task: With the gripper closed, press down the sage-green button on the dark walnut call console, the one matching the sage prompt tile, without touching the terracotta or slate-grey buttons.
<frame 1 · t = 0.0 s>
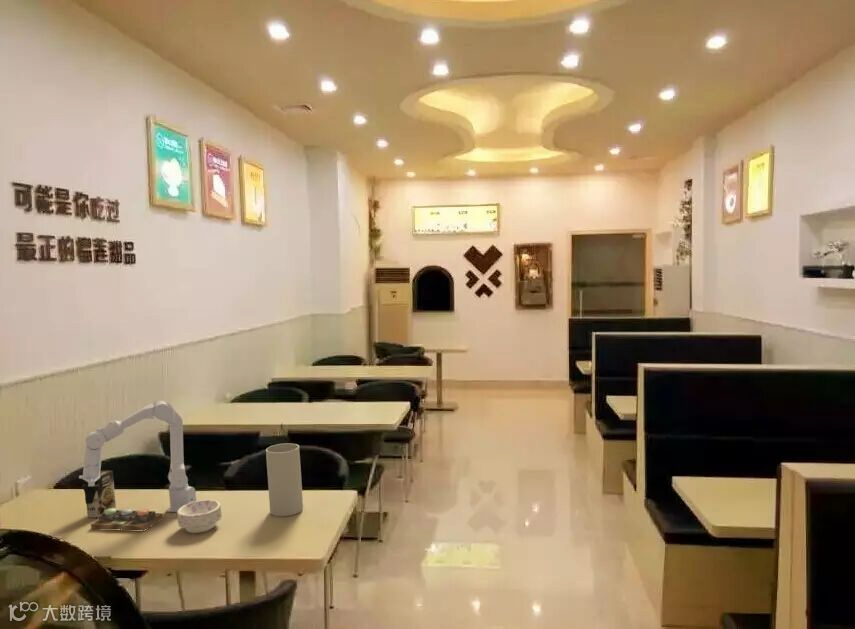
hand: (88, 500, 243), 11 cm above the table, tool pointing down, fingers open, 7 cm apart
cylinder vase: (286, 511, 251), on the table
terracotta button: (143, 513, 244), point 4 cm above the table, slide at 0.0 cm
console: (127, 523, 246), on the table
coffee box: (102, 513, 258), on the table
paper bowls: (200, 528, 239), on the table
sage button: (110, 512, 247), point 4 cm above the table, slide at 0.0 cm
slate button: (126, 512, 246), point 4 cm above the table, slide at 0.0 cm
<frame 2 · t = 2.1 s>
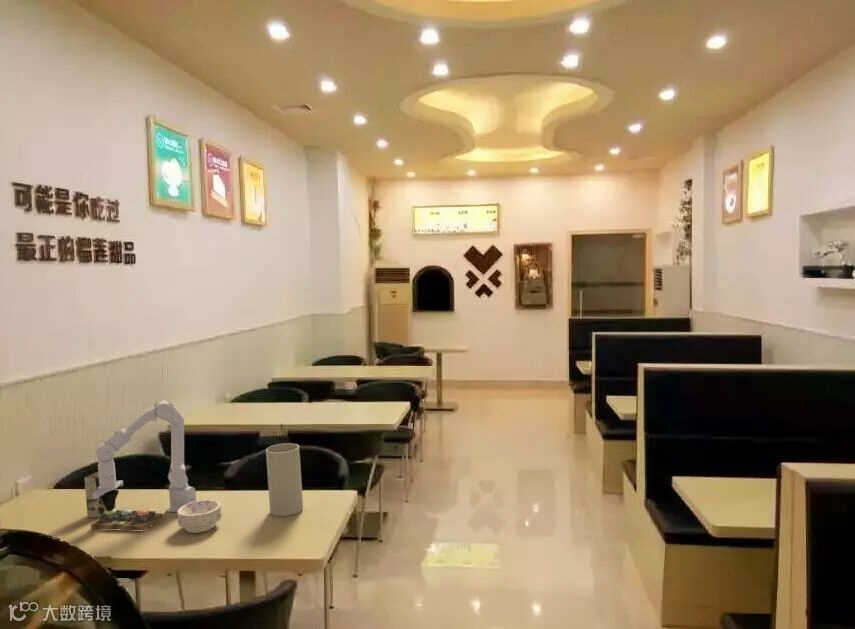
hand: (110, 510, 247), 5 cm above the table, tool pointing down, fingers closed, pressing on sage button
sage button: (110, 512, 247), point 4 cm above the table, slide at 0.1 cm, touching gripper
everything else where it was.
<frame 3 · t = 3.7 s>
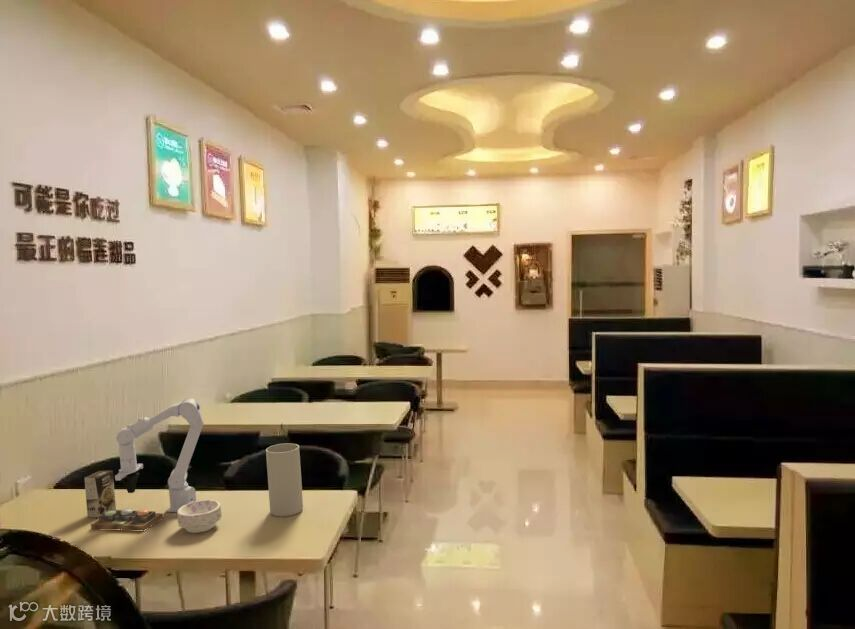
hand: (131, 492, 254), 9 cm above the table, tool pointing down, fingers closed
sage button: (110, 514, 247), point 3 cm above the table, slide at 1.0 cm
everything else where it was.
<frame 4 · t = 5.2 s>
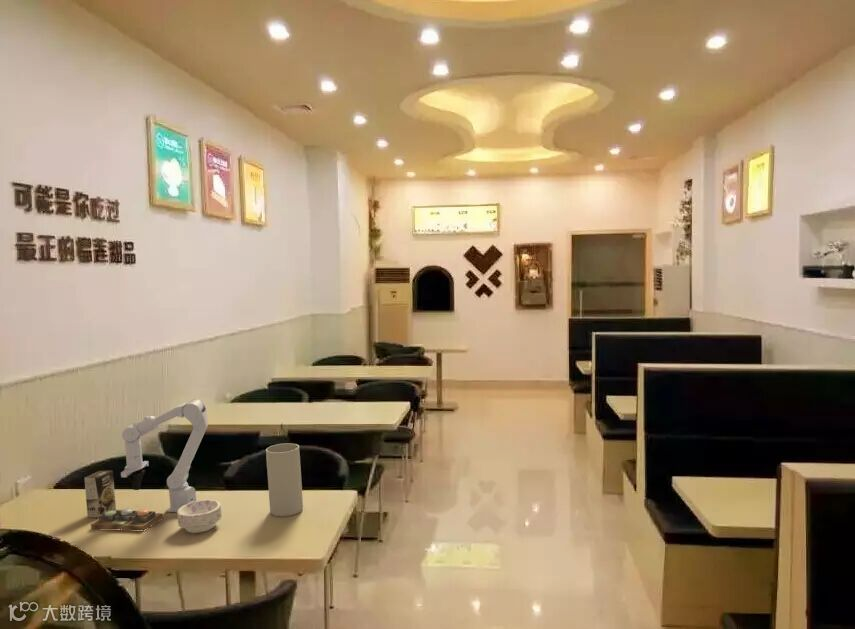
hand: (136, 489, 257), 9 cm above the table, tool pointing down, fingers closed
nothing on the table moved.
at the end: sage button slide at 1.0 cm; terracotta button slide at 0.0 cm; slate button slide at 0.0 cm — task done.
